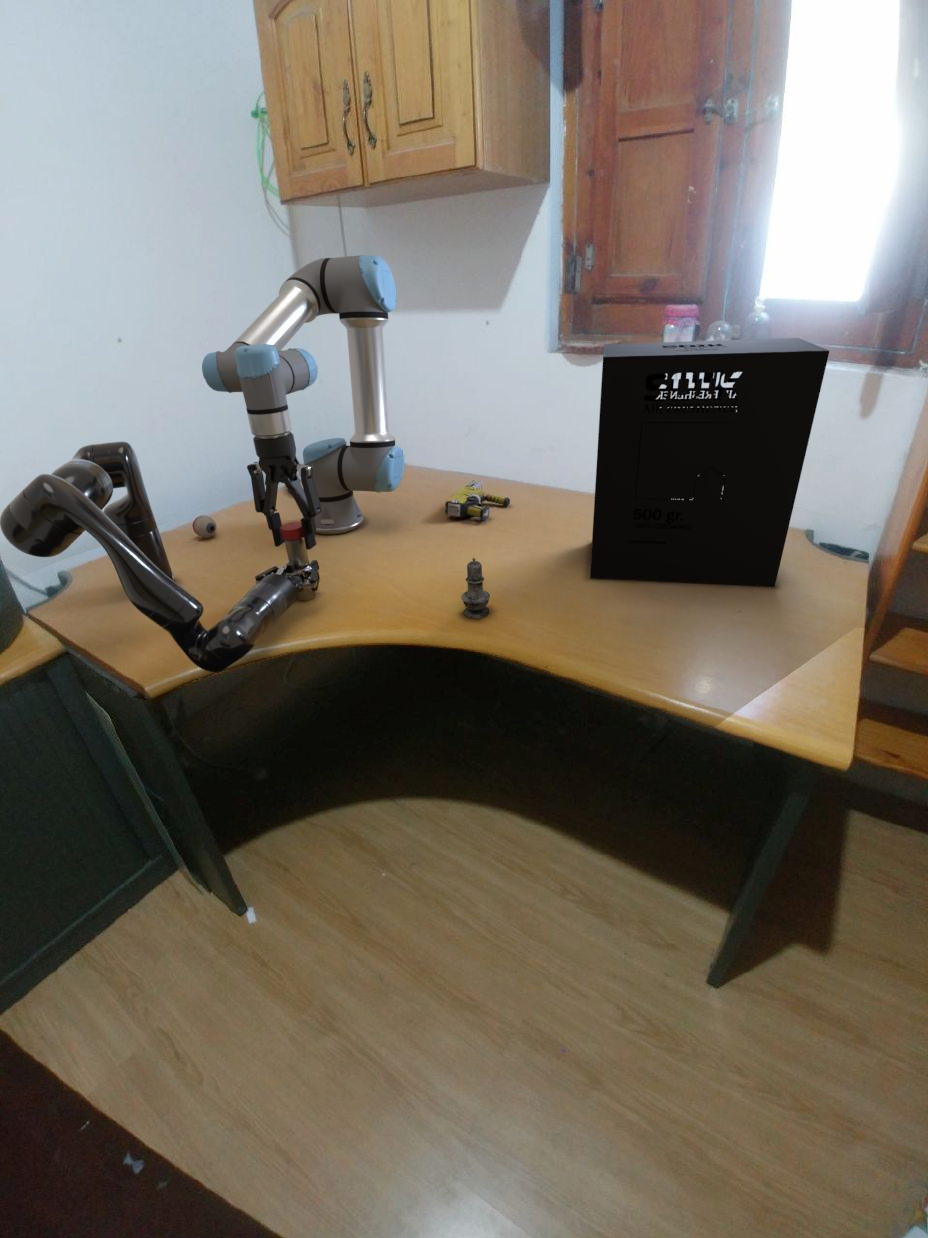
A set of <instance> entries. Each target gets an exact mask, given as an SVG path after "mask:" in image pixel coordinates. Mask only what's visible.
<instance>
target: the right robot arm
mask: <svg viewBox="0 0 928 1238" xmlns="http://www.w3.org/2000/svg"><path fill="white" fill-rule="evenodd" d="M396 305H397V287H396V283H395V279H394V275H393V272H392V270H391V269H390V266H389V265H388V263H387V262H386V260H384V258H382V257H381V256H379V255H376V254H375V255H370V254H369V255H368V254H359V255H348V256H338V257H337V256H336V257H322V258H317V259H315V260H313V261H311V262H309V263H307V264H305V265H304V266H302V267H301V268H299V269H298V270H296V271H295V272H294V273H293V274H292V275H290V276H289V277H288V278H287V279H286V280H285V281H284V282H282V284H281V285H280V287H279V290H278V296H277V297H276V298H275V299H274V300H273V301H272V302H271V303H270V304H269V305H268V306H267V307H266V308H265V309H264V310H263V311H262V312H261V313H260V314H259V315H258V317H257V318H255V320H253V321H252V323H251V324H249V326H248V327H247V328H246V329H245V330H244V331H243V332H242V333H241V334H239V336H238V337H237V339H236V340H234V342H232V344H231V345H230V346H229V347H228V348H227V349H226V350H224V351H220V350H217V351H214V352H208V353H207V354H206V355H205V356H204V357H203V358H202V359H203V360H202V363H201V373H202V377H203V379H204V380H205V382H206V385H207V386H208V387H209V388H210V389H212V390H213V391H216V392H220V393H223V392H224V393H229V394H232V393H242V395H243V398H244V399H243V400H244V403H245V409H246V414H247V417H248V418H247V420H248V425H249V428H250V433H251V435H253V436H254V437H253V439H252V440H253V445H254V450H255V455H256V456H257V457H258V461H254V462H252V463H250V464H248V465H247V466H246V469H247V471H248V474H249V476H250V480H251V489H252V495H253V503H254V509H255V512H256V513H261V514H263V515H264V516H265V519H266V524H267V527H268V530H269V531H271V534H272V539H273V543H274V547H278V548H279V547H280V546H282V545H283V544H285V541H284V539H283V538H282V536H281V531H280V527H281V526H282V525H283V524H282V519H281V515H280V512H277V511H278V508H277V500H278V490H279V484H280V483H281V484H283V485H284V486H285V488H286V489H287V491H288V493H289V494H290V495H292V498H293V499H294V501H295V504H296V506H297V508H298V509H299V511H300V513H301V516H302V517H301V519H300V522H301V525H302V530H303V535H304V540H305V545H306V549H307V551H308V550H309V551H310V550H311V549H312V548H314V547H315V546H317V541H316V535H315V534H317V535H323V536H324V535H325V536H327V535H329V536H331V535H339V534H340V535H341V534H345V533H350V532H353V531H355V530H357V529H359V528H361V527H362V526H363V525H364V523H365V519H364V514H363V512H362V510H361V508H360V505H359V504H358V501H357V500H356V498H355V495H354V492H373V493H374V492H375V493H377V494H380V493H391V492H393V491H395V490H397V488H398V487H399V486H400V484H401V482H402V479H403V476H404V472H405V460H406V458H405V454H404V450H403V448H402V447H400V446H398V445H396V437H394V436H393V434H392V433H390V429H389V415H388V414H389V413H388V397H387V396H388V395H387V380H386V363H385V345H384V344H385V343H384V331H383V330H384V327H385V326H386V324H387V323H389V313H391V312H392V311H394V310H395V308H396ZM330 314H332V315H333V314H335V315H336V314H337V315H338V317H339V322H340V323H341V324H342V326H344V327H345V329H346V336H347V338H346V339H347V347H348V348H347V350H348V361H349V375H350V388H351V399H352V412H353V426H354V433H353V435H352V436H351V437H350V438H349V445H348V444H347V441H346V439H345V438H342V437H334V438H328V439H323V440H318V441H315V442H313V443H309V444H308V445H306V446H305V447H304V448H303V450H302V457H303V458H302V460H303V464H302V463H300V461H299V460H298V458H297V447H296V441H295V436H294V434H293V433H292V430H293V427H292V421H291V416H290V411H289V405H288V400H287V395H290V394H293V393H296V392H299V391H305V390H307V388H309V387H311V386H312V385H313V384H314V383H315V382H316V380H317V378H318V373H319V371H318V364H317V362H316V360H315V357H314V356H313V355H312V354H311V353H310V351H308V350H306V349H304V348H299V347H298V348H295V347H294V348H288V349H284V348H285V347H286V345H288V343H289V342H290V341H291V339H292V338H293V337H294V336H295V335H296V334H297V332H298V331H299V330H300V329H301V328H302V327H303V326H304V324H307V323H308V324H309V323H311V322H313V321H314V320H315V319H316V318H317V317H319V316H322V315H330ZM283 349H284V350H283ZM264 474H265V476H264ZM264 478H265V479H264Z"/></svg>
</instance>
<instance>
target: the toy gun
mask: <svg viewBox="0 0 928 1238" xmlns="http://www.w3.org/2000/svg"><path fill="white" fill-rule="evenodd" d="M485 501H486V502H488V503H492V504H496V505H497V504H498V505H502V506H504V507H508V506H509V505H510V504H511V498H510V497H507V496H506V497H505V496H504V497H503V496H499V495H496V494H492V493H487V494H486V495H485V494H484V491H483V482H481V481H479V480H478V481H477V480H472V481H471V482H469V484H467V485H465V486H464V487H462V488H461V489H460V490H459V491H458V492H456V493H455V494H454V495H453V496H451V497H450V498H448V500H447V501H445V502H444V514H445V515H446V516H449V518H454V519H456V518H465V517H469V516H473V517H476V518H479V521H485V520H487V519H488V518H489V517H490V508H491V506H490V505H485V506H484V505H483V504H482V503H483V502H485Z"/></svg>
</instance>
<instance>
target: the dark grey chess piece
mask: <svg viewBox="0 0 928 1238" xmlns="http://www.w3.org/2000/svg"><path fill="white" fill-rule="evenodd" d="M471 560H472V561H471ZM471 560H470V562H468V563H467V565H466V574H467V575H466V576H467V577H466V578H465V582H466V583H467V589H466V591H464V592H463V593H462V594H461V596H460V599H461V600H462V602H463V605H464V606H465V608H464V609H463V615H464V616H465V617H467V618H469V619H481V618H485V617H487V616H488V615H489V614H490V609H489V608H488V607H487V606H488V604H489V602H490V599H491V594H490V592H489V591H487V590H484V581H485V577H484V576H483V566H482V563H481V562H480V561H477V560H476V557H473V558H472V559H471Z"/></svg>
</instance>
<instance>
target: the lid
mask: <svg viewBox="0 0 928 1238" xmlns="http://www.w3.org/2000/svg"><path fill="white" fill-rule="evenodd" d="M280 531H281V536H282V538H283V539H284V540H288V541H291V540H298V539H301V538H303V537H304V535H303V530H302V525H301V521H289V522H286V523H283V524H282V526H281V527H280Z"/></svg>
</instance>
